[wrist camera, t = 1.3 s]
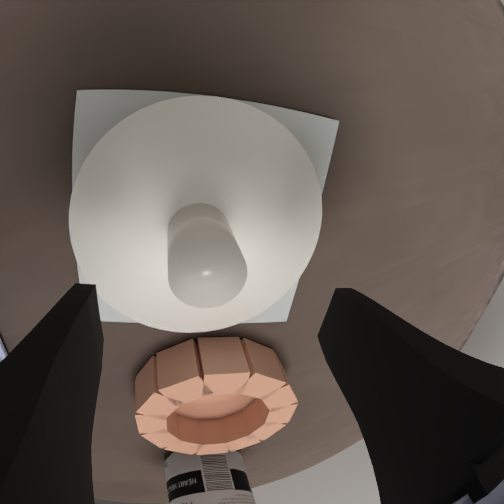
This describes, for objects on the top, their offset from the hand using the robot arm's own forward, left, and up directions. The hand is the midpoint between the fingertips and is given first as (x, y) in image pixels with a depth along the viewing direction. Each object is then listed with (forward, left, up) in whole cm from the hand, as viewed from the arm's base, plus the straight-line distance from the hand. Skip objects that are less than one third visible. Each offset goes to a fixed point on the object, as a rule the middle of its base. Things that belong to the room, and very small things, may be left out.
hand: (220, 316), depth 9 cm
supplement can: (+2, -26, -7) cm, 27 cm away
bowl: (+2, -13, -7) cm, 15 cm away
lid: (0, 0, -7) cm, 7 cm away
